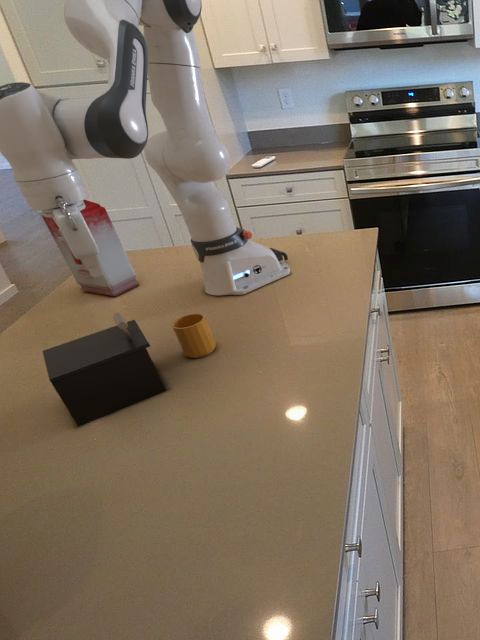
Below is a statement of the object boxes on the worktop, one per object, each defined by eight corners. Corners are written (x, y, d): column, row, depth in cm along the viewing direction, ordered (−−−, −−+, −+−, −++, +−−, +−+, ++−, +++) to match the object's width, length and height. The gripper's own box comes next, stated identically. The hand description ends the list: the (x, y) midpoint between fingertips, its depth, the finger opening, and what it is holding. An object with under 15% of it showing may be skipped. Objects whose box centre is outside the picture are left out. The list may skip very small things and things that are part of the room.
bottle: (144, 283, 160) (95, 176, 144) (111, 299, 152) (55, 188, 136) (111, 278, 166) (60, 174, 150) (78, 293, 158) (20, 186, 142)
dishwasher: (151, 364, 122) (132, 324, 116) (166, 390, 112) (146, 348, 107) (69, 395, 114) (44, 354, 109) (78, 426, 105) (51, 383, 99)
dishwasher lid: (136, 322, 117) (125, 301, 114) (150, 346, 107) (139, 324, 105) (44, 354, 109) (31, 332, 106) (51, 383, 99) (37, 360, 97)
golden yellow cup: (211, 340, 128) (199, 310, 124) (220, 350, 124) (208, 320, 119) (182, 351, 125) (168, 321, 121) (189, 362, 120) (176, 331, 116)
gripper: (85, 198, 89) (123, 278, 97) (69, 177, 103) (103, 249, 111) (38, 209, 86) (81, 291, 94) (29, 186, 100) (67, 259, 108)
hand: (93, 268), depth 103 cm, fingers open, 8 cm apart
